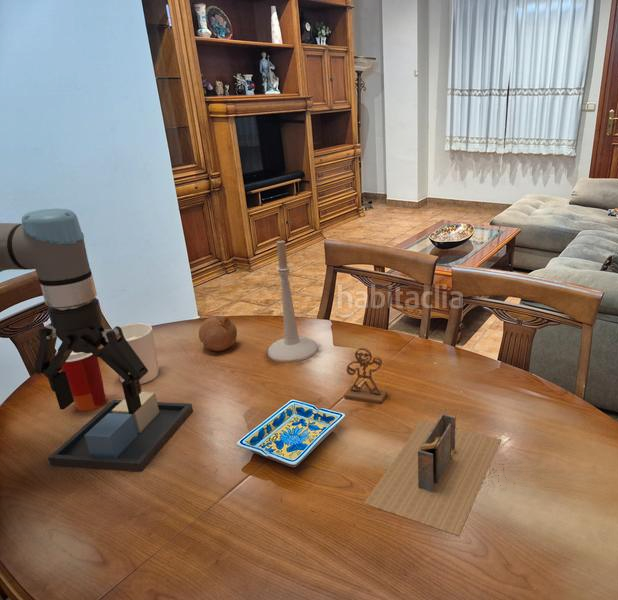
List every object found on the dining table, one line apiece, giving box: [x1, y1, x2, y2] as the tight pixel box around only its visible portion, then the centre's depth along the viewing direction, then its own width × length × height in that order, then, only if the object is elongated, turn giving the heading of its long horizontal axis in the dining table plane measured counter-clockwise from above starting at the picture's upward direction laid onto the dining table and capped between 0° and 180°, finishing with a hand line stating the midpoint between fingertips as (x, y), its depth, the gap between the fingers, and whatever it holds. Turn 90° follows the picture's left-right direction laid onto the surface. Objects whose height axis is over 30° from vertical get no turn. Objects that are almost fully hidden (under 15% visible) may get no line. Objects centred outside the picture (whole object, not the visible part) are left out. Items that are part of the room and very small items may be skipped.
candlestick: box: [267, 239, 319, 363], centre depth 128 cm, size 13×13×30 cm
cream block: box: [112, 391, 159, 433], centre depth 104 cm, size 5×7×5 cm
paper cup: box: [54, 350, 107, 412], centre depth 110 cm, size 8×8×14 cm
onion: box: [198, 315, 238, 353], centre depth 135 cm, size 10×9×10 cm
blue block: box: [84, 413, 138, 458], centre depth 97 cm, size 5×7×5 cm
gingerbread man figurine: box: [343, 347, 388, 405], centre depth 111 cm, size 9×4×12 cm, turn 73°
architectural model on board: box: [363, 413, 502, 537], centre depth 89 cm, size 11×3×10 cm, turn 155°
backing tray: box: [47, 399, 194, 472], centre depth 101 cm, size 18×19×2 cm
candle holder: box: [118, 322, 159, 385], centre depth 121 cm, size 10×10×12 cm
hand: (101, 407), depth 95 cm, fingers open, 13 cm apart
